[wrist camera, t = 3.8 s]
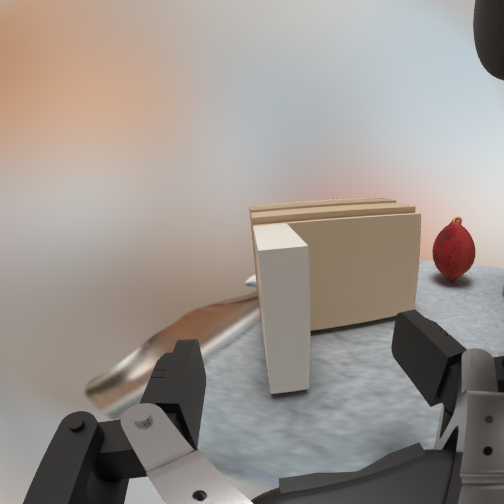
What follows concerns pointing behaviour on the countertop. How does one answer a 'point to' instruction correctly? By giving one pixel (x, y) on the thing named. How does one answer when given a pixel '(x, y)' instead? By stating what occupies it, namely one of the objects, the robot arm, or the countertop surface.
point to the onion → (454, 250)
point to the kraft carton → (322, 213)
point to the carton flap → (330, 282)
